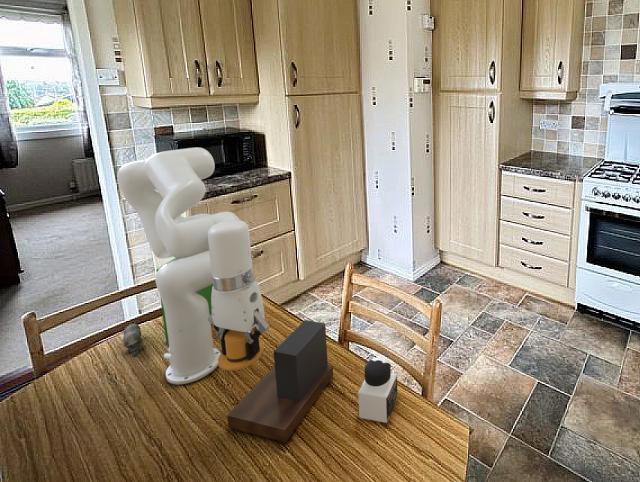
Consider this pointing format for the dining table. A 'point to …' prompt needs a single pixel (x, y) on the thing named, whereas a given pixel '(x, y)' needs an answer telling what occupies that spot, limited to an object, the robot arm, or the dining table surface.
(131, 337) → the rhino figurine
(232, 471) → the dining table surface
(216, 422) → the dining table surface
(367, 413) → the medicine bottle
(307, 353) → the dark grey block
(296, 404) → the brown flat slab
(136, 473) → the dining table surface
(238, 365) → the hat
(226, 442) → the dining table surface
